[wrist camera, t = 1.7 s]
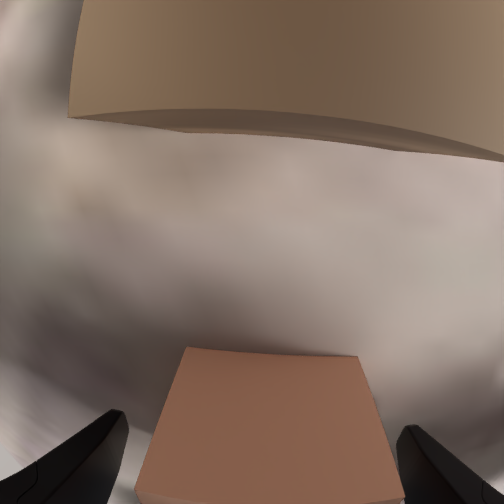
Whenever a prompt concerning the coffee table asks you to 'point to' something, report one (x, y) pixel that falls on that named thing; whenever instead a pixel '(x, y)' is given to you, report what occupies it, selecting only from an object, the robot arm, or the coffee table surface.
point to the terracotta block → (268, 434)
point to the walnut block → (299, 70)
